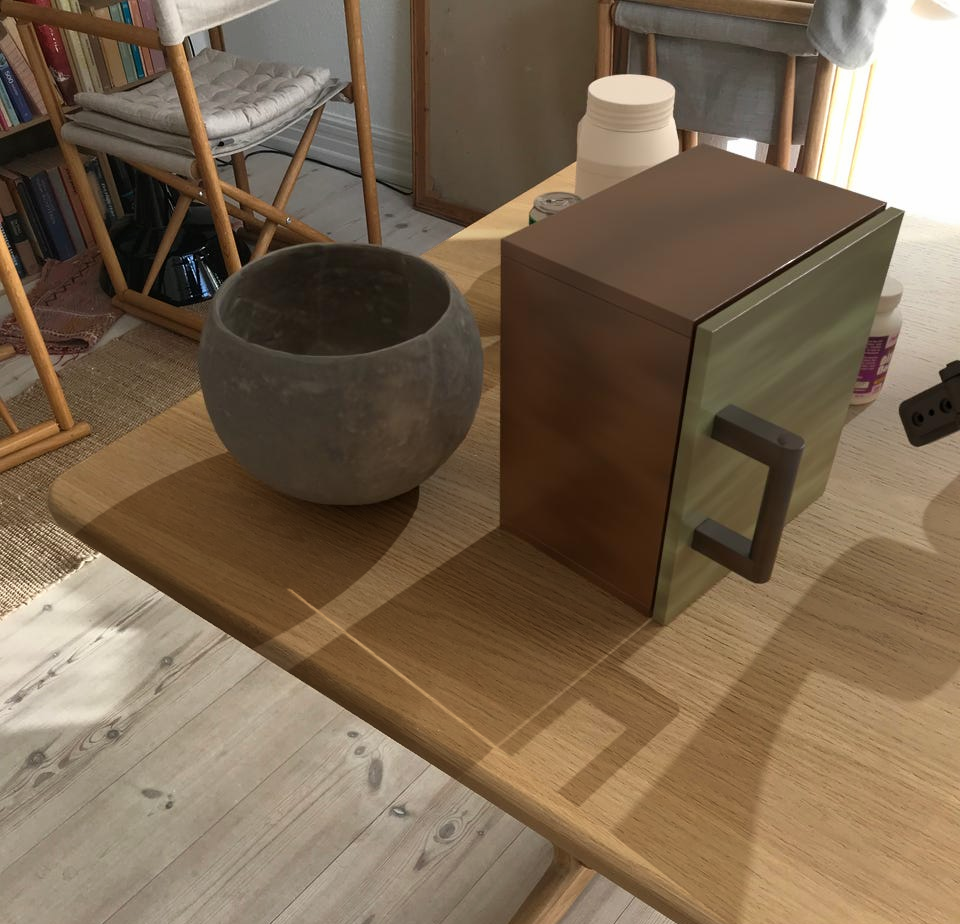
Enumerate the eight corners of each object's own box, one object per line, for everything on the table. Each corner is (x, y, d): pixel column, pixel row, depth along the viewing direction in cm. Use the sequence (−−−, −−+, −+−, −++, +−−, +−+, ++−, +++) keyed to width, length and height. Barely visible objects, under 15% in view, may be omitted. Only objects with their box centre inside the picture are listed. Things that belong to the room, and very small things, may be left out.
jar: (667, 269, 105) (687, 111, 94) (572, 267, 105) (581, 110, 94) (660, 219, 113) (677, 68, 102) (572, 218, 113) (579, 68, 102)
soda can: (582, 344, 95) (591, 214, 86) (527, 344, 95) (530, 215, 86) (578, 316, 98) (586, 188, 90) (525, 316, 98) (528, 189, 90)
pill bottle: (883, 410, 87) (916, 303, 80) (818, 404, 88) (845, 298, 81) (877, 375, 91) (909, 270, 84) (815, 370, 91) (841, 265, 84)
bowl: (366, 595, 72) (342, 411, 61) (168, 487, 81) (117, 309, 70) (534, 455, 83) (539, 278, 72) (344, 373, 92) (324, 204, 81)
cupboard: (810, 487, 80) (887, 202, 64) (648, 619, 70) (693, 321, 54) (664, 415, 87) (702, 142, 71) (499, 526, 77) (500, 238, 61)
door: (887, 523, 77) (988, 237, 61) (729, 667, 67) (800, 370, 51) (813, 487, 80) (890, 205, 64) (651, 619, 70) (696, 325, 54)
